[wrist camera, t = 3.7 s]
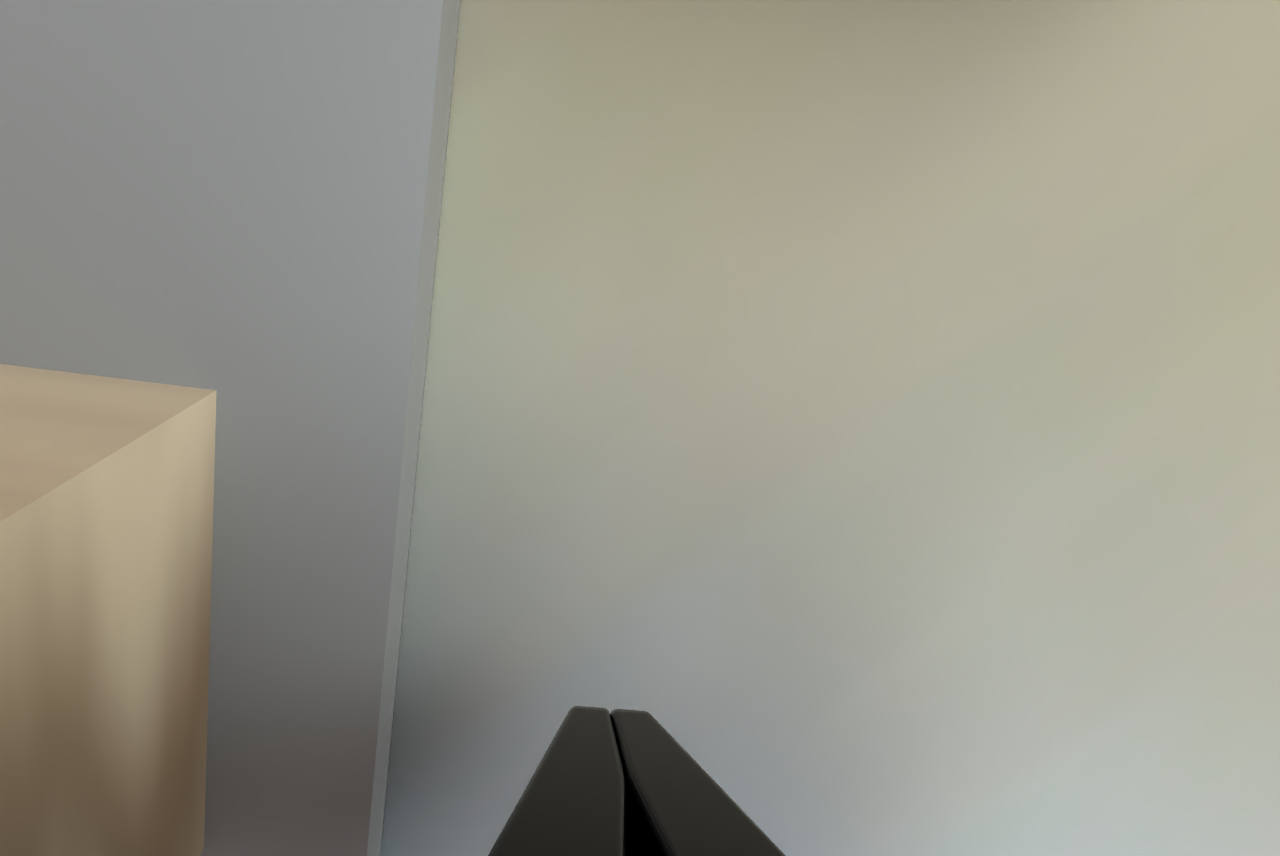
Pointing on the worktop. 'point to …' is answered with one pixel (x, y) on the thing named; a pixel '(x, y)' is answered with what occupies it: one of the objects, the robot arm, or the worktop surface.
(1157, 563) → the worktop surface
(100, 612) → the maple block
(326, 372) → the trap runway
